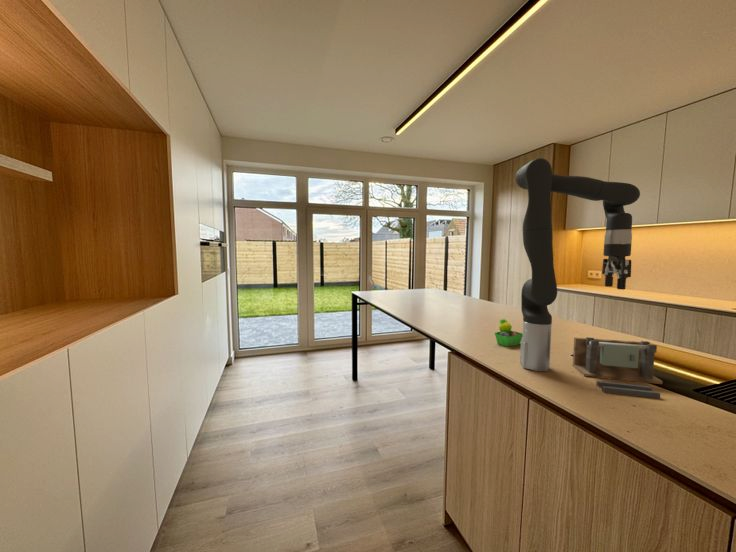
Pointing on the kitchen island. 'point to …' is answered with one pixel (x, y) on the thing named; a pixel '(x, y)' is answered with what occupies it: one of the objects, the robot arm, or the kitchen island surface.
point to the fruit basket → (507, 335)
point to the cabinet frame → (589, 365)
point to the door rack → (628, 389)
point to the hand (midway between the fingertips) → (614, 287)
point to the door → (620, 354)
